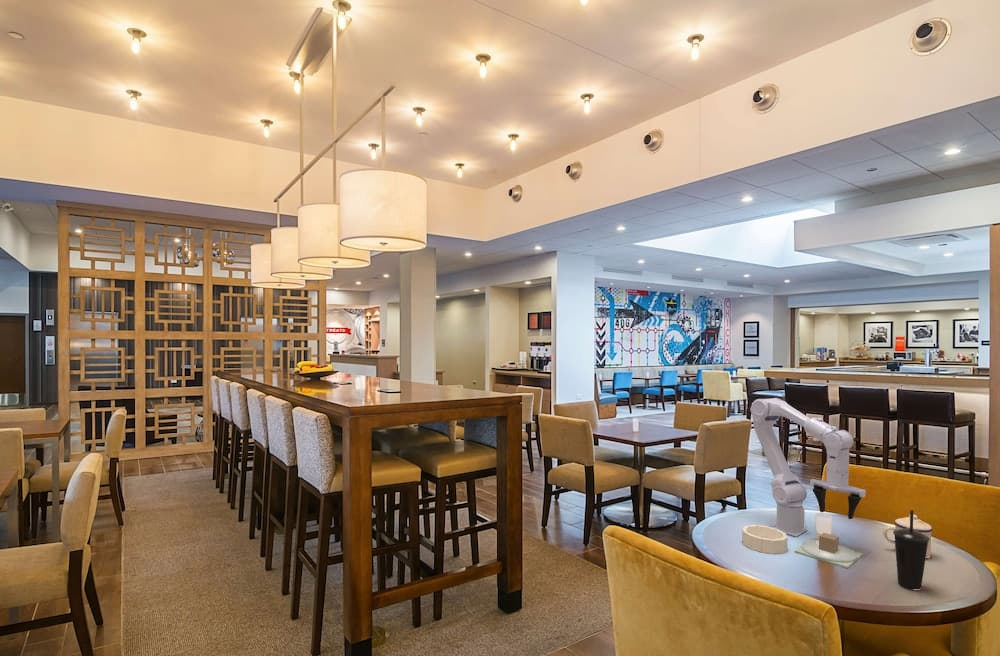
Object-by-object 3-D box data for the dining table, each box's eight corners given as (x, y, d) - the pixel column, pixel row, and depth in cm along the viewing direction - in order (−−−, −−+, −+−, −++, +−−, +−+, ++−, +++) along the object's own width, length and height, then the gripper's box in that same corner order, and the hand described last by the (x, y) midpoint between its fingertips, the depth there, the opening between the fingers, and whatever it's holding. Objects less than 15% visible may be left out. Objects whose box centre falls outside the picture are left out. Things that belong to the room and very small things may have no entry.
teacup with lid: (924, 550, 168) (925, 512, 167) (936, 562, 159) (937, 522, 159) (878, 544, 172) (879, 507, 172) (887, 555, 163) (889, 516, 163)
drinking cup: (930, 596, 138) (932, 517, 138) (892, 588, 142) (895, 511, 142) (926, 584, 145) (928, 509, 145) (890, 576, 149) (892, 503, 149)
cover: (811, 539, 173) (811, 524, 173) (862, 553, 163) (863, 537, 162) (794, 550, 164) (794, 534, 164) (847, 567, 153) (848, 550, 153)
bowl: (752, 534, 177) (753, 522, 177) (792, 546, 168) (793, 533, 168) (735, 544, 169) (735, 531, 169) (776, 557, 160) (777, 543, 160)
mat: (811, 540, 173) (811, 539, 173) (862, 555, 163) (862, 553, 163) (794, 552, 164) (794, 550, 164) (847, 568, 153) (847, 566, 153)
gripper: (807, 467, 170) (805, 511, 170) (861, 478, 159) (859, 524, 159) (815, 464, 174) (814, 506, 175) (868, 474, 164) (867, 519, 164)
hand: (836, 514), depth 167 cm, fingers open, 7 cm apart
